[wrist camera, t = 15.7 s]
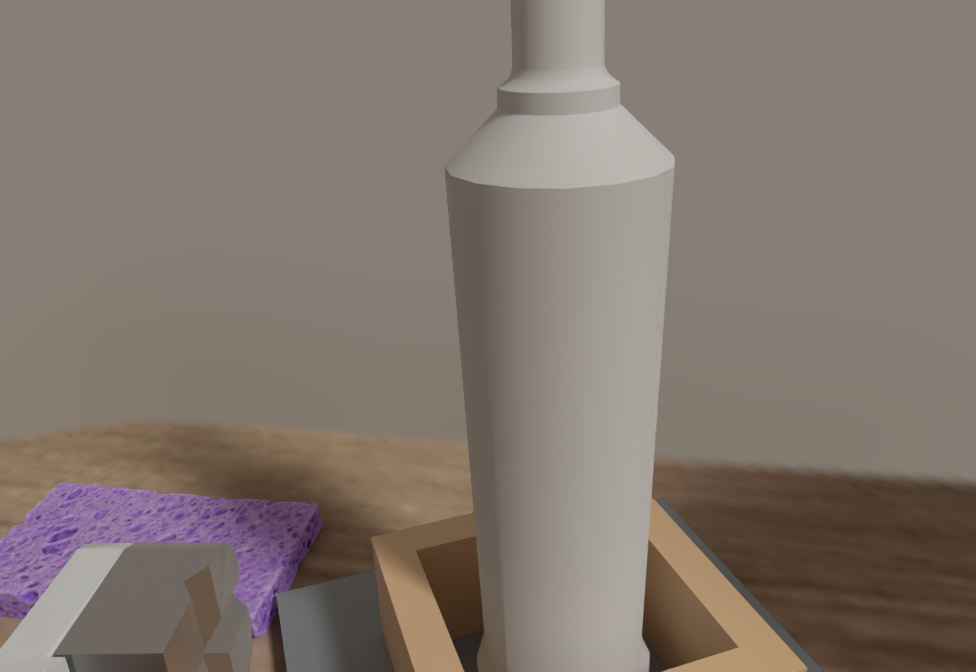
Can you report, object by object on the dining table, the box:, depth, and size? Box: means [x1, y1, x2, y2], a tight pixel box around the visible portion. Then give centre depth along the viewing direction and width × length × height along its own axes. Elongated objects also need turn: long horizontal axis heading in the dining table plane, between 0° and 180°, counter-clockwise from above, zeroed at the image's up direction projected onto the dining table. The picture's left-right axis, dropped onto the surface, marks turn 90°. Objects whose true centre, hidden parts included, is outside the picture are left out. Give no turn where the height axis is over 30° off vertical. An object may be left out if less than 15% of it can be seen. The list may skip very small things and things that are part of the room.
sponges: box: [0, 483, 322, 638], centre depth 33 cm, size 7×13×2 cm, turn 80°
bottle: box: [444, 0, 674, 672], centre depth 20 cm, size 5×5×25 cm
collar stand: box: [276, 496, 824, 672], centre depth 24 cm, size 16×16×5 cm
